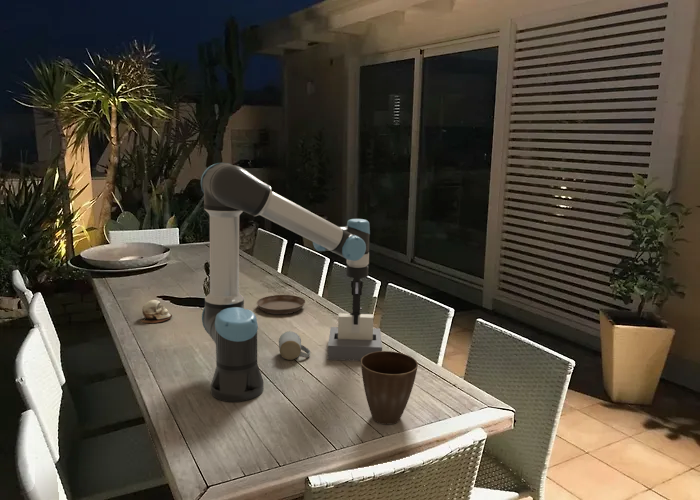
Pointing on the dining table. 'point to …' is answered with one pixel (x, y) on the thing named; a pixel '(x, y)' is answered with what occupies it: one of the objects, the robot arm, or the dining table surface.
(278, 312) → the plant saucer
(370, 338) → the bar
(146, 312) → the skull
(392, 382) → the plant pot
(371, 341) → the plate
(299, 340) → the ceramic mug
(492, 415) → the dining table surface
